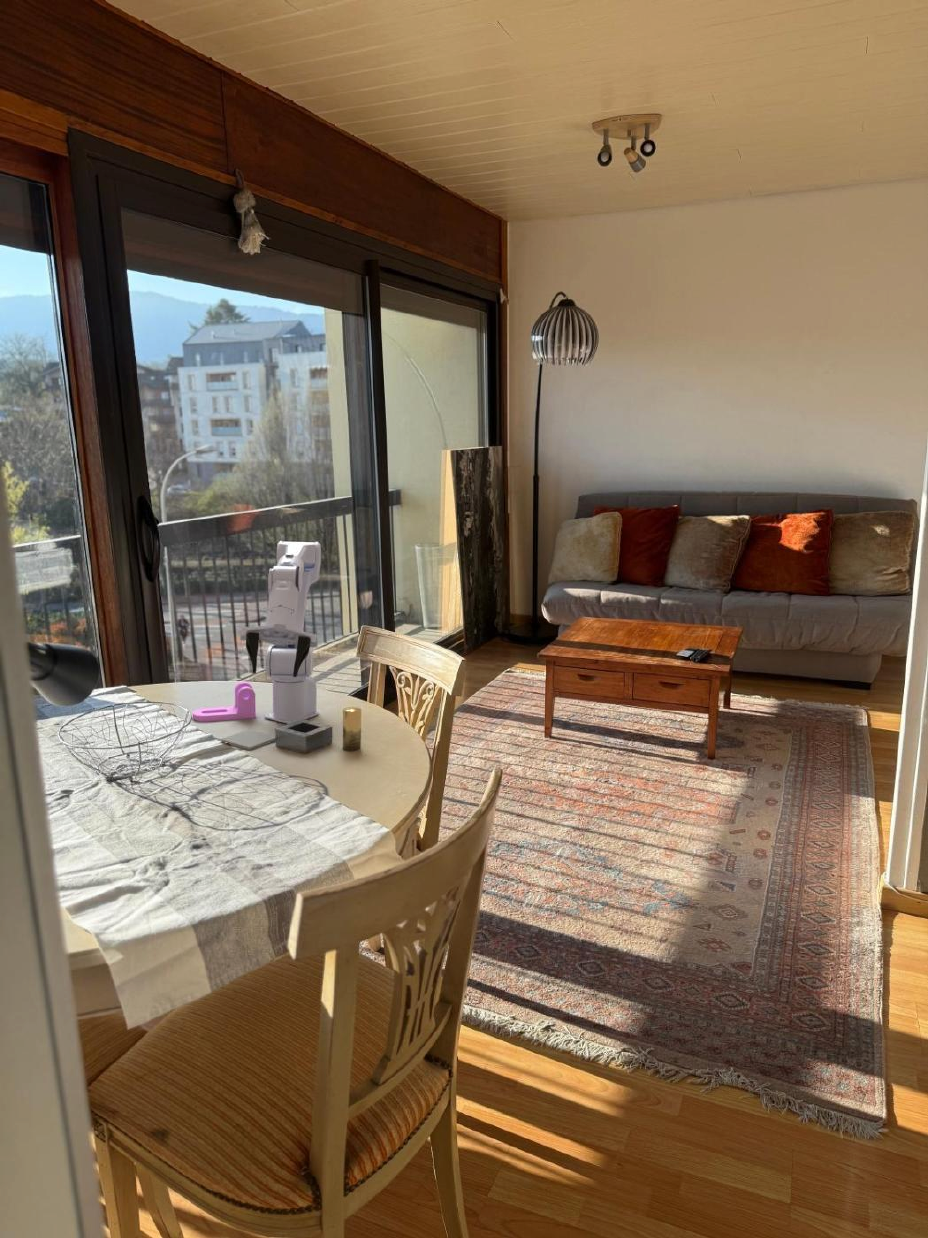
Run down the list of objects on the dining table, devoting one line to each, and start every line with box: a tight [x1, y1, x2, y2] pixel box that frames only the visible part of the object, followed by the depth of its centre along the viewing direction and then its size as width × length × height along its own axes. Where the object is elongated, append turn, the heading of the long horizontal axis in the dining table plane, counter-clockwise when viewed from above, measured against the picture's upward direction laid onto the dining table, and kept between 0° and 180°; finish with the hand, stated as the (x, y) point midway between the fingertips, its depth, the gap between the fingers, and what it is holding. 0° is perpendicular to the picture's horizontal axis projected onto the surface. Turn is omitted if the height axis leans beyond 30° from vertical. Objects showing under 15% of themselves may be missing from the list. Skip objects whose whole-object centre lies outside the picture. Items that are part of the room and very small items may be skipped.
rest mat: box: [220, 728, 275, 751], centre depth 176 cm, size 8×8×1 cm
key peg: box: [342, 706, 362, 752], centre depth 173 cm, size 4×4×8 cm
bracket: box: [192, 681, 257, 723], centre depth 190 cm, size 13×6×7 cm, turn 111°
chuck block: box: [274, 719, 333, 755], centre depth 175 cm, size 8×8×4 cm
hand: (274, 672), depth 166 cm, fingers open, 7 cm apart
